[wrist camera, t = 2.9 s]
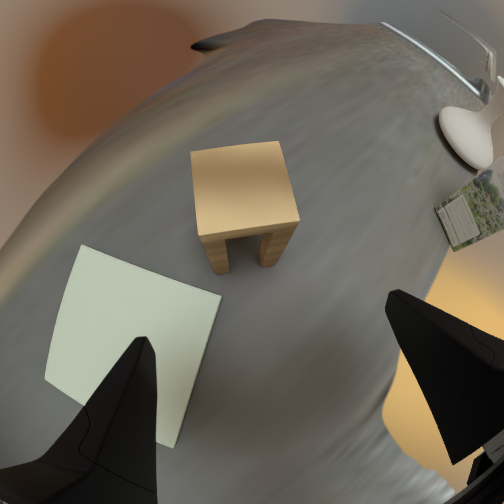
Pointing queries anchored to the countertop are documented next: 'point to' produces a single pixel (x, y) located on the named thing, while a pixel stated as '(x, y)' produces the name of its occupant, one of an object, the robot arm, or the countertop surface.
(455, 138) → the flower in vase
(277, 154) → the wooden footstool
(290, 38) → the countertop surface
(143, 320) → the board
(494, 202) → the syrup box
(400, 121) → the countertop surface
